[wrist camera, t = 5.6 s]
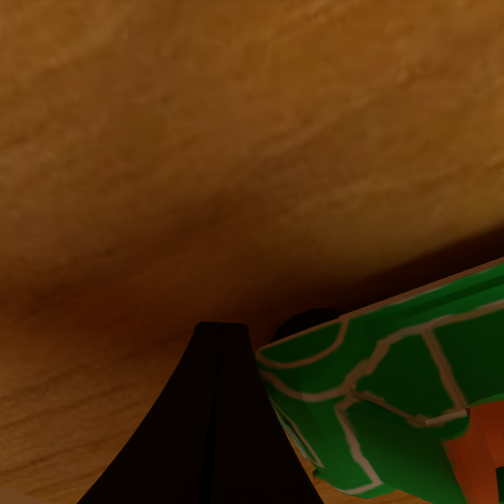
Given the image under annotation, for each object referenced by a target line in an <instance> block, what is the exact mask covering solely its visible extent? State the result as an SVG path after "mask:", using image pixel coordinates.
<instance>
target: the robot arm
mask: <svg viewBox="0 0 504 504" xmlns="http://www.w3.org/2000/svg"><path fill="white" fill-rule="evenodd" d="M77 504H324V502H323V501H322V499H321V497H320V496H319V494H318V493H317V491H316V489H315V488H314V486H313V484H312V482H311V481H310V479H309V477H308V475H307V474H306V472H305V470H304V468H303V467H302V465H301V463H300V461H299V459H298V457H297V455H296V454H295V452H294V450H293V448H292V446H291V444H290V442H289V440H288V438H287V436H286V434H285V432H284V430H283V427H282V425H281V423H280V421H279V419H278V417H277V415H276V412H275V410H274V408H273V406H272V403H271V401H270V398H269V396H268V393H267V391H266V388H265V386H264V383H263V381H262V378H261V375H260V372H259V370H258V366H257V363H256V360H255V357H254V353H253V350H252V346H251V342H250V336H249V329H248V327H247V326H246V325H245V324H244V323H224V322H200V323H198V324H197V325H196V327H195V329H194V332H193V335H192V337H191V339H190V342H189V344H188V346H187V348H186V350H185V352H184V354H183V356H182V358H181V360H180V361H179V363H178V365H177V367H176V369H175V370H174V372H173V374H172V376H171V377H170V379H169V381H168V382H167V384H166V386H165V387H164V389H163V391H162V392H161V394H160V396H159V397H158V399H157V400H156V402H155V403H154V405H153V406H152V408H151V409H150V410H149V412H148V413H147V415H146V416H145V418H144V419H143V421H142V422H141V424H140V425H139V427H138V428H137V430H136V431H135V432H134V434H133V435H132V436H131V438H130V439H129V440H128V442H127V443H126V444H125V446H124V447H123V448H122V450H121V451H120V452H119V454H118V455H117V456H116V457H115V459H114V460H113V461H112V462H111V464H110V465H109V466H108V467H107V469H106V470H105V471H104V472H103V474H102V475H101V476H100V477H99V479H98V480H97V481H96V482H95V483H94V484H93V485H92V487H91V488H90V489H89V490H88V491H87V492H86V494H85V495H84V496H83V497H82V498H81V499H80V501H79V502H78V503H77Z"/></svg>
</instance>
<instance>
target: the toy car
mask: <svg viewBox="0 0 504 504" xmlns="http://www.w3.org/2000/svg"><path fill="white" fill-rule="evenodd" d="M254 357H255V360H256V363H257V366H258V370H259V372H260V375H261V378H262V381H263V383H264V386H265V388H266V391H267V393H268V396H269V398H270V401H271V403H272V406H273V408H274V410H275V412H276V415H277V417H278V419H279V421H280V423H281V424H282V426H283V427H284V429H285V430H286V432H287V433H288V435H289V436H290V438H291V439H292V440H293V442H294V443H295V445H296V446H297V448H298V449H299V451H300V452H301V454H302V455H303V457H304V458H305V459H310V461H311V462H312V464H313V465H314V466H315V468H316V470H314V471H313V478H314V481H315V483H318V482H319V481H320V480H322V479H324V480H325V481H326V482H327V483H329V484H330V485H331V486H333V487H334V488H335V489H337V490H338V491H340V492H341V493H343V494H346V495H351V496H356V497H361V498H366V499H369V498H373V497H377V496H381V495H385V494H388V493H392V492H393V491H394V490H396V489H399V490H402V491H404V492H407V493H409V494H412V495H414V496H417V497H419V498H422V499H424V500H427V501H429V502H432V503H434V504H504V257H501V258H499V259H496V260H493V261H490V262H488V263H485V264H482V265H479V266H476V267H474V268H471V269H468V270H465V271H463V272H460V273H457V274H454V275H452V276H449V277H446V278H443V279H441V280H438V281H435V282H432V283H430V284H427V285H424V286H421V287H418V288H416V289H413V290H410V291H407V292H405V293H402V294H399V295H396V296H394V297H391V298H388V299H385V300H383V301H380V302H377V303H374V304H372V305H369V306H366V307H363V308H361V309H358V310H355V311H352V312H349V313H347V314H344V315H343V314H341V313H339V312H337V311H335V310H333V309H312V310H309V311H306V312H304V313H301V314H298V315H296V316H294V317H292V318H291V319H290V320H288V321H287V322H286V323H285V324H283V325H282V326H281V327H279V328H278V329H277V331H276V333H275V334H274V336H273V337H272V339H271V340H270V342H269V343H268V344H267V345H265V346H262V347H260V348H259V349H258V350H257V351H256V352H255V353H254Z"/></svg>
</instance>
